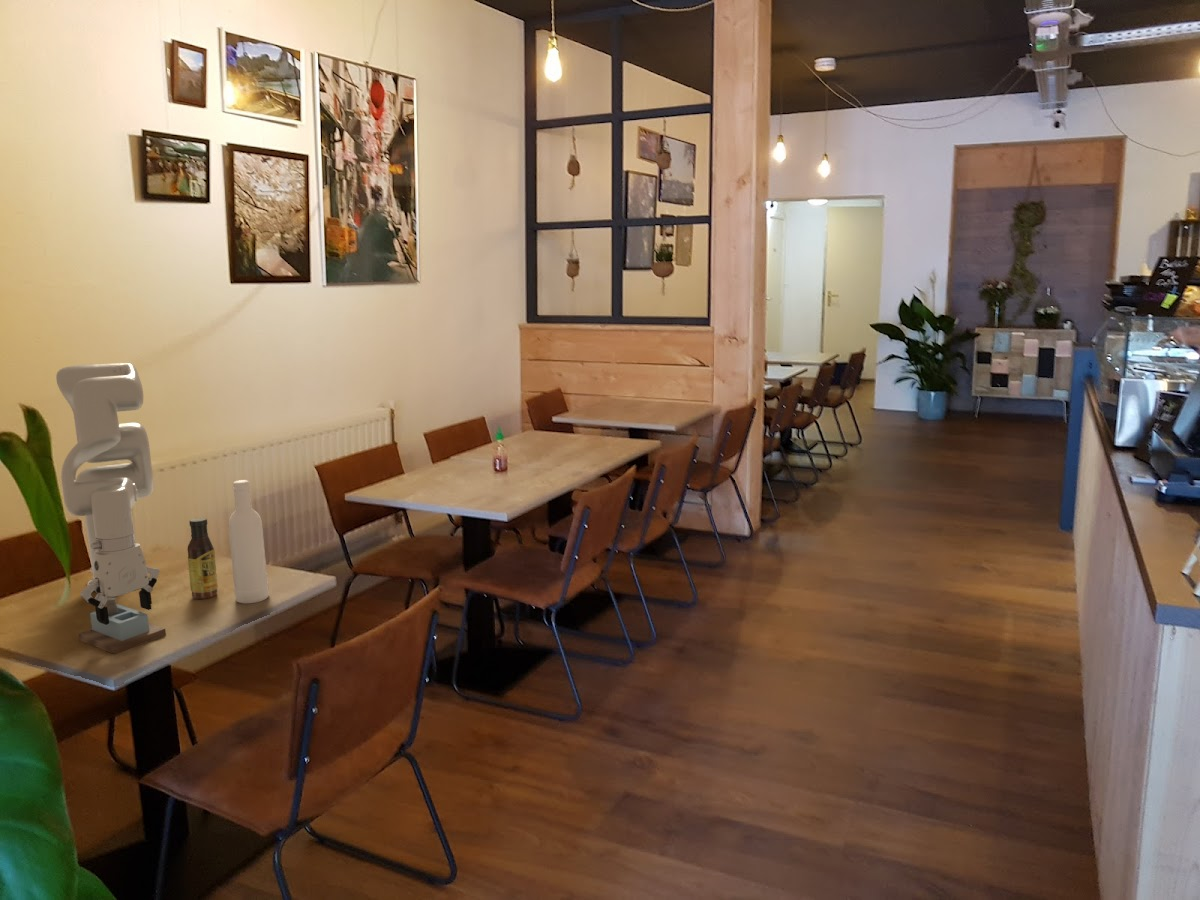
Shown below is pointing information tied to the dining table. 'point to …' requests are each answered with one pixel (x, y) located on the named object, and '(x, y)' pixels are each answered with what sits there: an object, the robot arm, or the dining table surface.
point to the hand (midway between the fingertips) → (125, 615)
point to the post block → (115, 644)
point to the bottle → (247, 548)
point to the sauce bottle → (201, 561)
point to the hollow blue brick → (122, 623)
